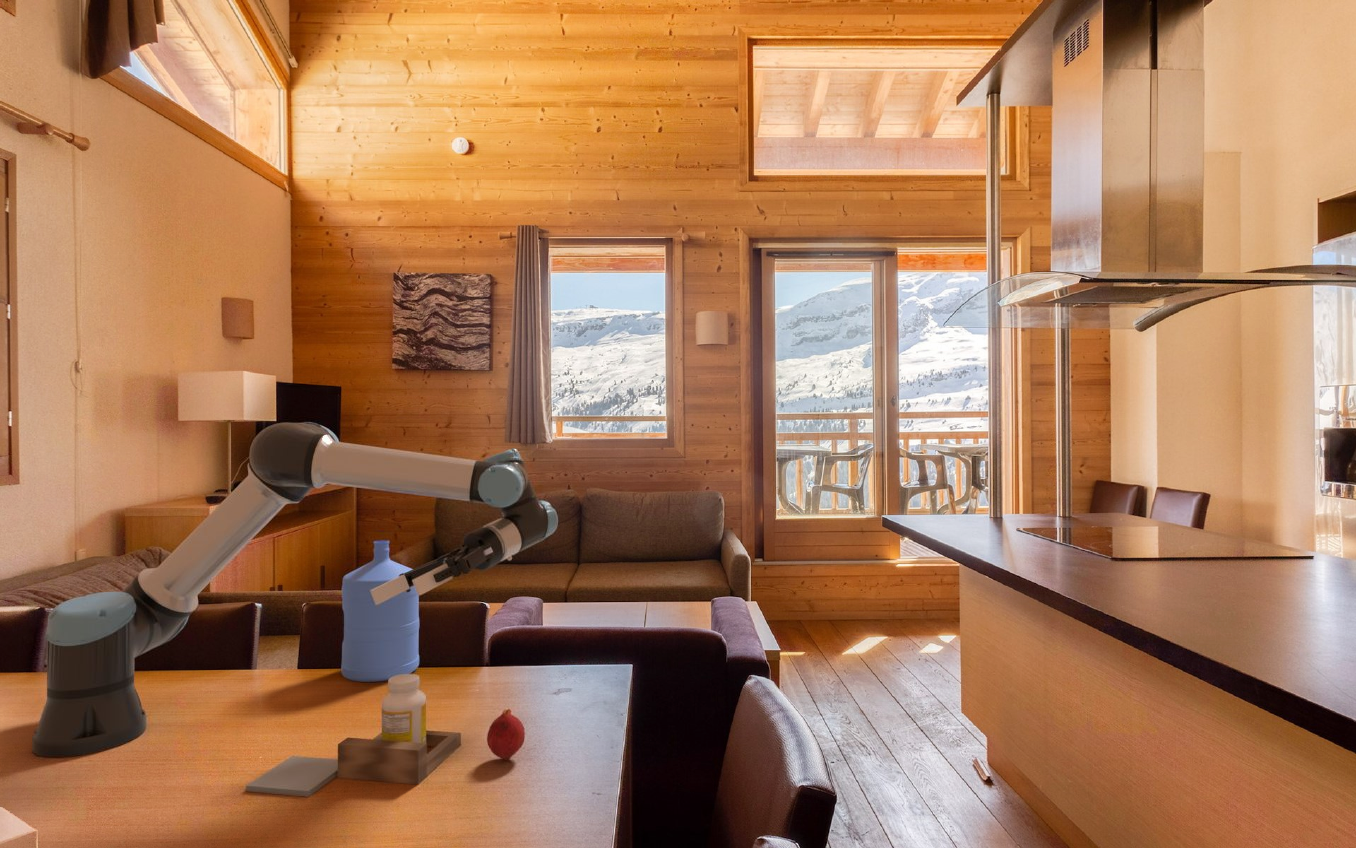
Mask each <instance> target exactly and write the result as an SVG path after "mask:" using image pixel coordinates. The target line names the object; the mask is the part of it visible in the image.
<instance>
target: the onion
mask: <svg viewBox="0 0 1356 848" xmlns="http://www.w3.org/2000/svg"><path fill="white" fill-rule="evenodd" d="M525 735H526V731H525V726H524V724H523V722H522V721H521V720H520V719H519V718H518V717H516V716H515V715H513V714H512V709H510V708H509V707H506V708H505V709H503V711H502V713H501V714H500V716H498V717H496V718H495V719H494V720H493V721H492V723H491V724H490V726H489V728H488V731H487V736H486V741H487V746H488V747H489V749H490V752H491V753H493V754H494V755H495V756H496V757H498V758H500V759H502V760H503V761H508V760H510V759H511V758H512V757H513V756H514V755H515V754H516V753H518V751H520V749H522V747H523V744H524V743H525V738H526V736H525Z"/></svg>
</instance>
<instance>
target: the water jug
mask: <svg viewBox="0 0 1356 848" xmlns="http://www.w3.org/2000/svg"><path fill="white" fill-rule="evenodd" d="M389 544H390V540H375V541H373V545H374V547H373V559H372V560H371V561H370V562H368V563H366V564H364V565H363V566H360V567H358V568H356V569H354V570H353V571H350V572H349V573H347V574H345V575H344V576H343V577H342V585H341V598H342V602H341V603H342V604H341V605H342V607H341V608H342V609H341V610H343V624H344V625H343V640H342V644H341V649H342V650H341V663H340V666H341V668H340V670H341V671H340V672H341V674H342V676H343V677H344V678H345V679H347V680H349V681H353V682H362V683H374V682H375V683H377V682H385V681H388V680H389V679H390V678H391V677H393V676H396V675H401V674H413V672H414V671H417V669H418V668H419V665H420V655H419V639H420V638H419V634H420V633H419V629H420V617H419V611H420V607H419V606H420V605H419V604H420V603H419V599H420V598H419V597H420V595H419V596H418V594H417V592H416V589H415V587H414V586H411V587H410V589H411V591H410V592H407V591H404V592H402V593H400V594H398V595H396V596H394V597H392V598H390V599H388V600H386V601H384V602H382V603H380V604H378V605H376V604H375V602H374V599H373V597H372V594H371V592H370V590H372V589H374V588H376V587H378V586H380V585H383V584H385V583H387V582H389V581H391V580H393V579H395V578H397V577H399V575H400V574H402V573H406V572H408V571H410V570H413V569H414V568H411V567H408V566H405V565H403V564H400V563H398V562H397V561H394V560H392V559H391V558H390V547H389V546H390V545H389Z"/></svg>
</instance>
